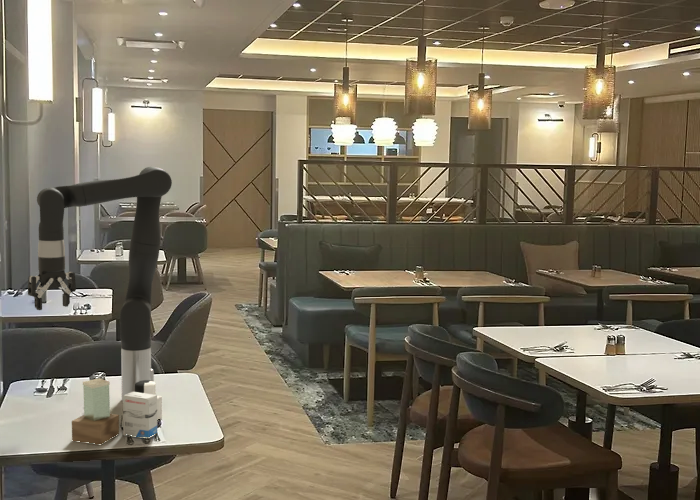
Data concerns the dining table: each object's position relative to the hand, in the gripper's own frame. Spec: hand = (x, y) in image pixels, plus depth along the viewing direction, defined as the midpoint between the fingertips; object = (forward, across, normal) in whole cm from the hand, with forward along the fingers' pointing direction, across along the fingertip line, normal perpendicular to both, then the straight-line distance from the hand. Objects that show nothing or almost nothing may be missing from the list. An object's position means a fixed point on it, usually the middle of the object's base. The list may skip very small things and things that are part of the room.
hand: (52, 308), depth 239 cm
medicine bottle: (+32, +14, -27) cm, 44 cm away
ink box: (+32, +6, -36) cm, 49 cm away
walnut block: (+32, -4, -29) cm, 44 cm away
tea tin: (+26, -3, -29) cm, 39 cm away
